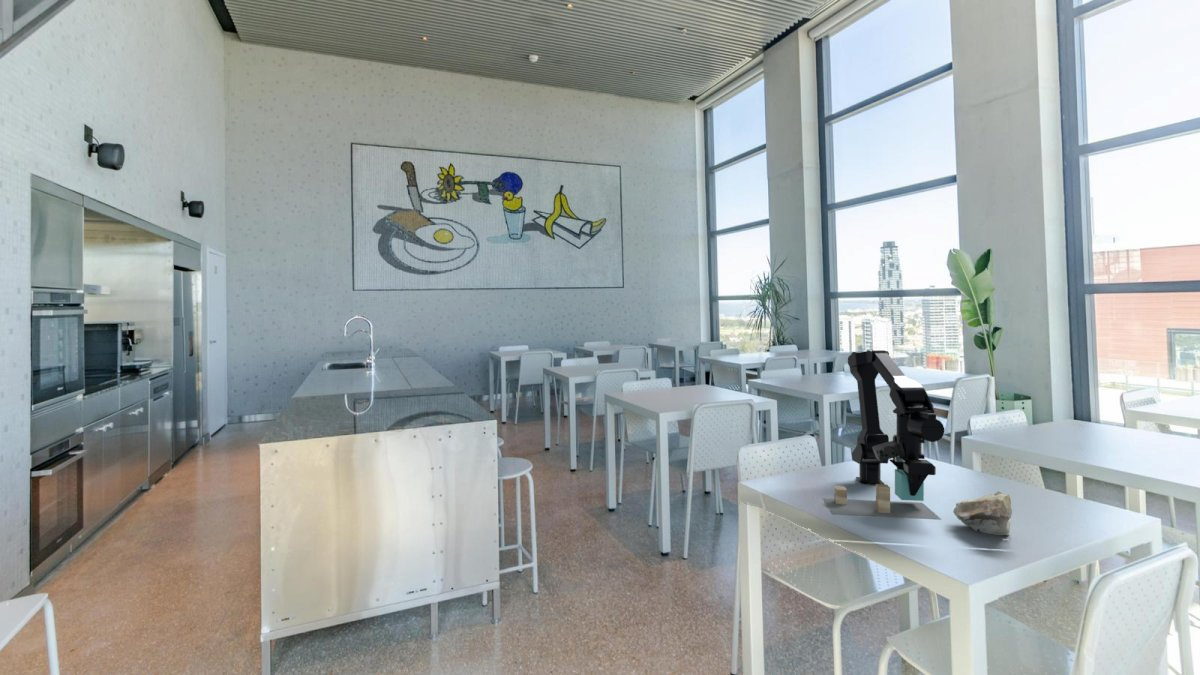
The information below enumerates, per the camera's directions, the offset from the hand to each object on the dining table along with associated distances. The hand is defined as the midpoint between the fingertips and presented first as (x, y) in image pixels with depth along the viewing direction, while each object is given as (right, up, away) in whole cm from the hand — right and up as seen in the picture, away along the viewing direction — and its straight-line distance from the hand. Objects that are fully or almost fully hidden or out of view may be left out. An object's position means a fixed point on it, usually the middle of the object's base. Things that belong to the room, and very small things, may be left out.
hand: (908, 492), depth 143 cm
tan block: (-17, -4, +3) cm, 17 cm away
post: (-9, -4, -4) cm, 10 cm away
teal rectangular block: (0, -1, 0) cm, 1 cm away
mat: (-9, -4, -2) cm, 10 cm away
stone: (+7, -5, -17) cm, 19 cm away
